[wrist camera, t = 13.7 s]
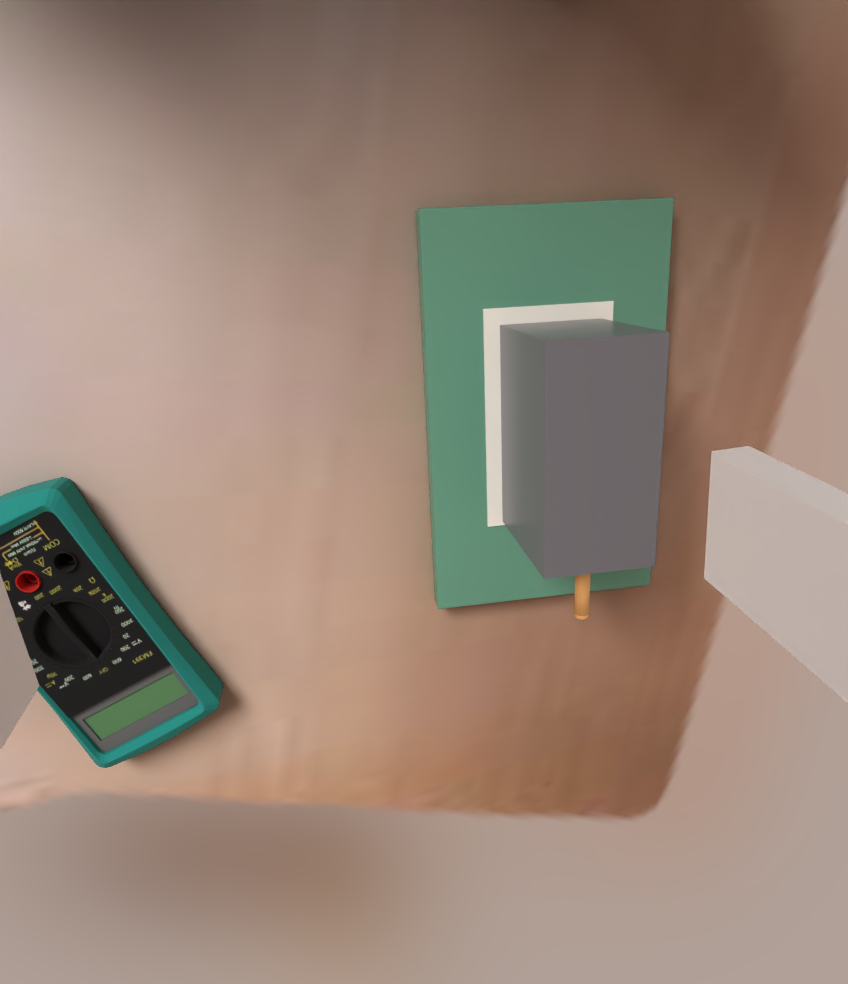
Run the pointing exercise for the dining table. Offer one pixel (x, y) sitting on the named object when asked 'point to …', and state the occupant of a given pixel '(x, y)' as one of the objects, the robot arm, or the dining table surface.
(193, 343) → the dining table surface
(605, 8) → the dining table surface
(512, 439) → the block
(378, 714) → the dining table surface
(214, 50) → the dining table surface
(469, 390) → the board
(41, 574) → the digital multimeter
